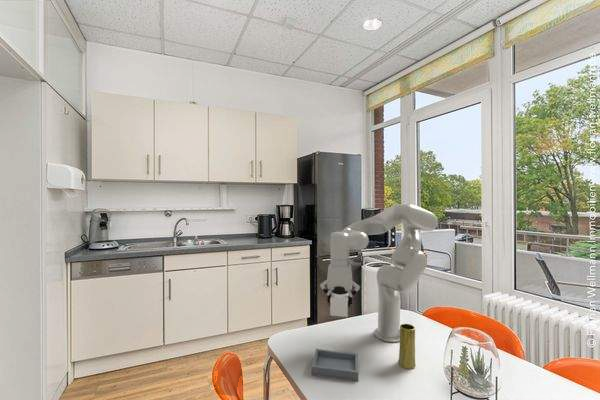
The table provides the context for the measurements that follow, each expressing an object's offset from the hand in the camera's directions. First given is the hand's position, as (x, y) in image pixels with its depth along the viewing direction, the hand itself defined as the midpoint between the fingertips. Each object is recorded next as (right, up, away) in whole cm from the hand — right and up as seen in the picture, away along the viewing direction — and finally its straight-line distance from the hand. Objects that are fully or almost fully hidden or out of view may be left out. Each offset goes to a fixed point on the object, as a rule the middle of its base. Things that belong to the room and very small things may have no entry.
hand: (339, 304), depth 119 cm
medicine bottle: (0, -4, 0) cm, 4 cm away
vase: (+24, -19, -11) cm, 32 cm away
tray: (-3, -18, -14) cm, 23 cm away
